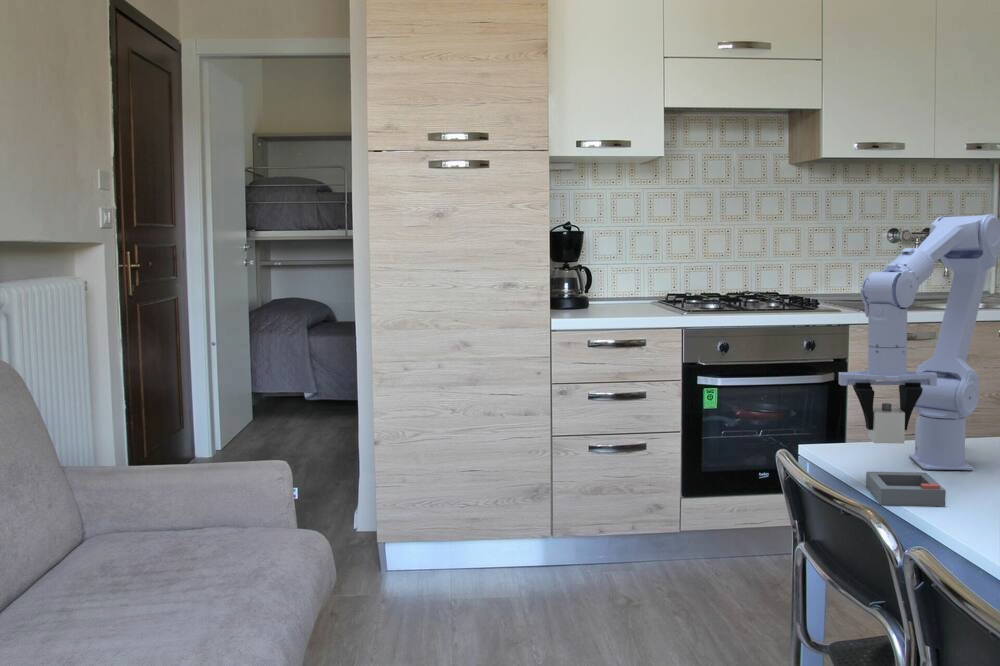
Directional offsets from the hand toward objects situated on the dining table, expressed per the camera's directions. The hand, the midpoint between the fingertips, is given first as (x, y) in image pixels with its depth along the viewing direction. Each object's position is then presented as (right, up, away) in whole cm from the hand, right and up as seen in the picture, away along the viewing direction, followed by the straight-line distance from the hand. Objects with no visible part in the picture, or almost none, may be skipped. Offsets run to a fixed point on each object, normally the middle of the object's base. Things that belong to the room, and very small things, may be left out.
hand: (886, 428), depth 142 cm
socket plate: (0, -10, -7) cm, 12 cm away
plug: (0, -2, 0) cm, 2 cm away
